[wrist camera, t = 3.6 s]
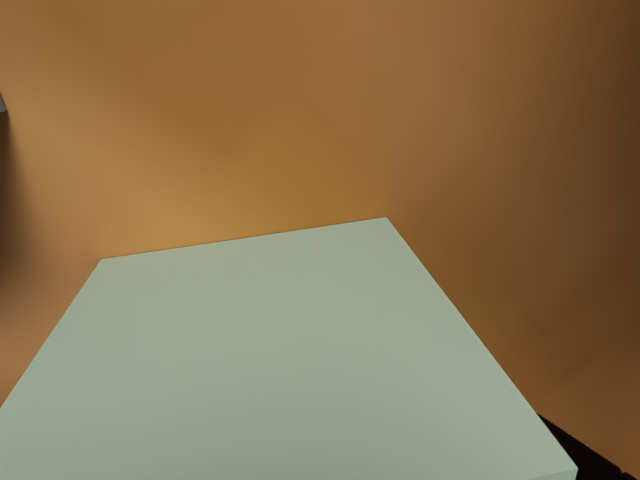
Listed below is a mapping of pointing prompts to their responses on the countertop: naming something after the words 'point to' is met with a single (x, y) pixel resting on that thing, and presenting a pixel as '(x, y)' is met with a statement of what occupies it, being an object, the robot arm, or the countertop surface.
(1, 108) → the base
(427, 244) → the countertop surface
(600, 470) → the robot arm
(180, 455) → the green cube
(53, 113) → the countertop surface
